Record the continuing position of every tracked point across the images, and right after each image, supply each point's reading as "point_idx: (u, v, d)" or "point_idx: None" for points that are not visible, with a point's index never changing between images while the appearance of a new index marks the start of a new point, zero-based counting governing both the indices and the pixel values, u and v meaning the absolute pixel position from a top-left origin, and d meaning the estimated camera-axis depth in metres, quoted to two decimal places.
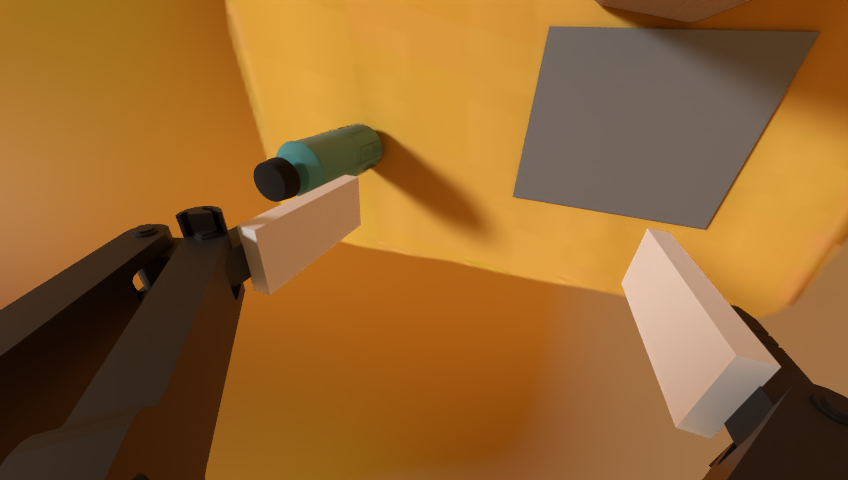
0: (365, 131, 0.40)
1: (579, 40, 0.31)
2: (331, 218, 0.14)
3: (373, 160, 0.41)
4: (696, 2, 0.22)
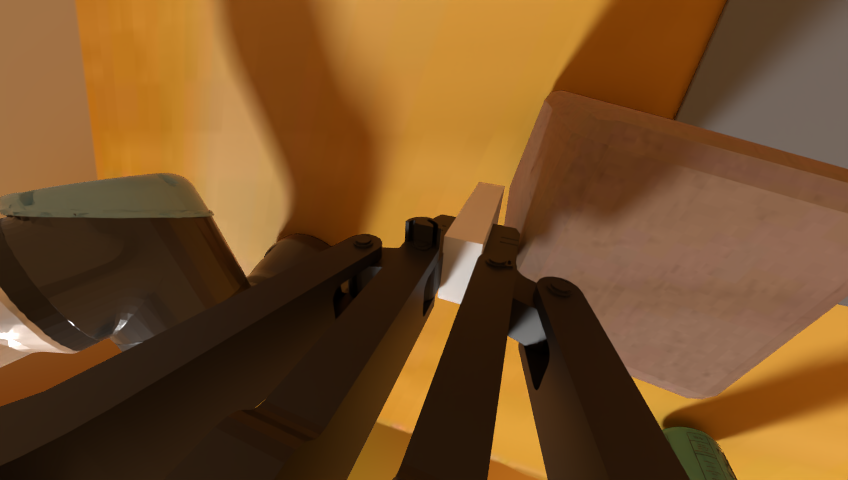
0: (673, 447, 0.34)
1: None
2: None
3: (719, 458, 0.32)
4: None
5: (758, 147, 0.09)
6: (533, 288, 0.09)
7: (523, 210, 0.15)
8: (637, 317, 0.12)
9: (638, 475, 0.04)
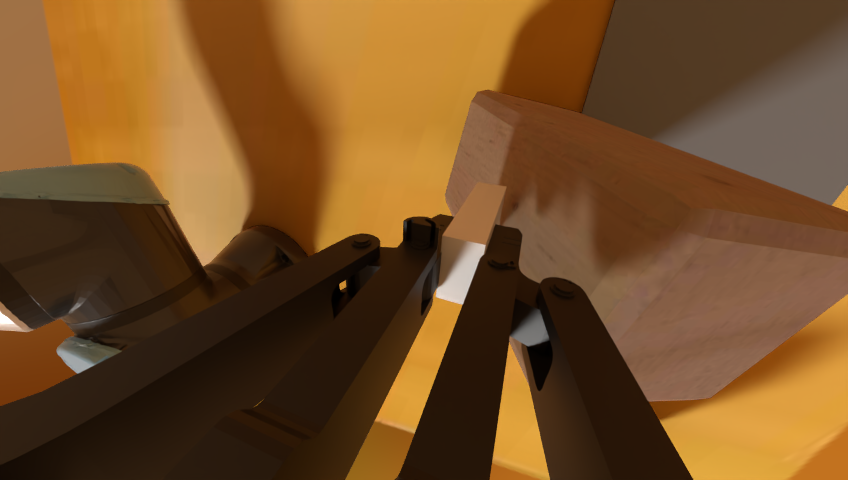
0: None
1: None
2: None
3: None
4: None
5: (800, 209, 0.09)
6: (536, 289, 0.09)
7: (536, 267, 0.13)
8: (681, 365, 0.12)
9: (642, 477, 0.04)
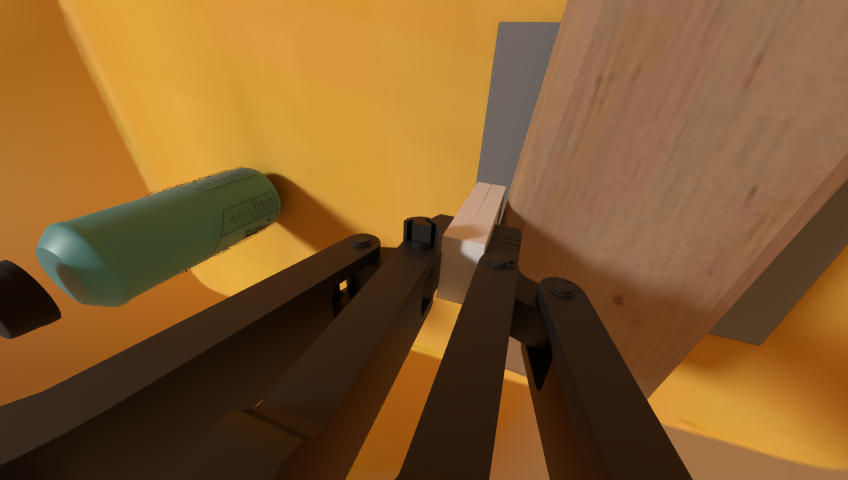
0: (244, 180, 0.27)
1: (550, 45, 0.18)
2: None
3: (260, 221, 0.28)
4: None
5: None
6: (535, 289, 0.09)
7: None
8: None
9: (641, 477, 0.04)
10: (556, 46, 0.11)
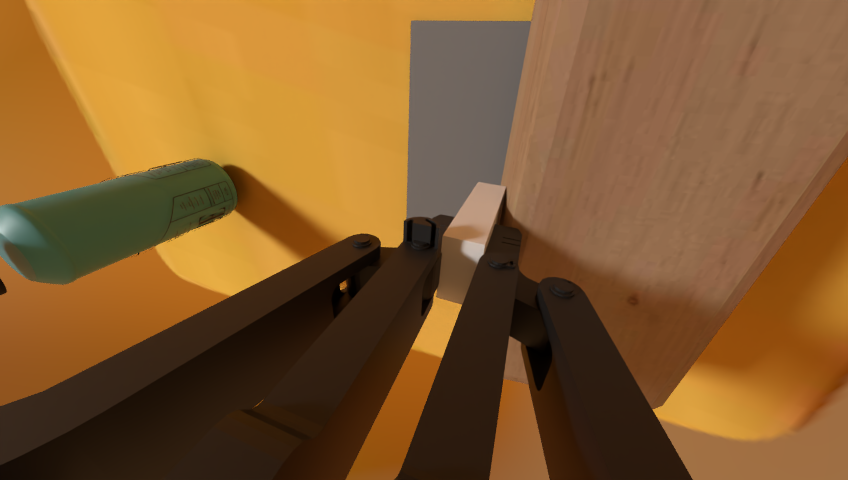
0: (198, 170, 0.29)
1: (456, 42, 0.20)
2: None
3: (214, 209, 0.30)
4: None
5: None
6: (535, 288, 0.09)
7: None
8: None
9: (641, 477, 0.04)
10: (541, 50, 0.10)
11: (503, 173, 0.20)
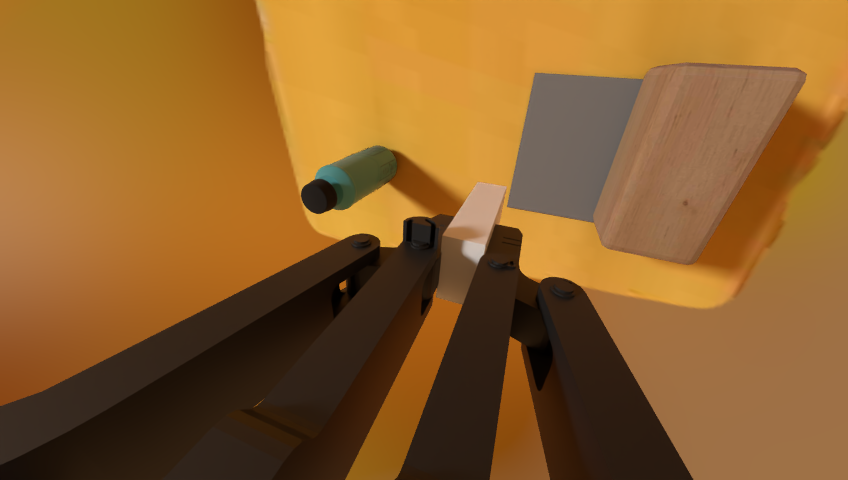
0: (383, 152, 0.48)
1: (559, 84, 0.39)
2: None
3: (389, 176, 0.49)
4: None
5: None
6: (536, 289, 0.09)
7: (657, 229, 0.34)
8: None
9: (642, 477, 0.04)
10: (656, 105, 0.29)
11: (617, 155, 0.39)
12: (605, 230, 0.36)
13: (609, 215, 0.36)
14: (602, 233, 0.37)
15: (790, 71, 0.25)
